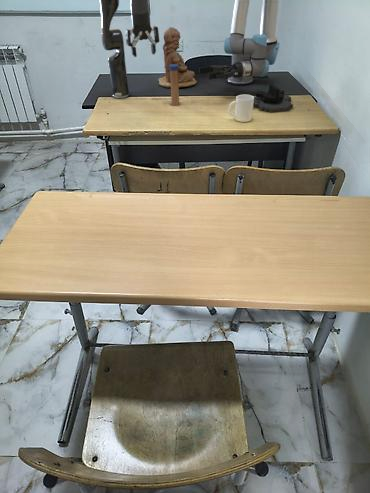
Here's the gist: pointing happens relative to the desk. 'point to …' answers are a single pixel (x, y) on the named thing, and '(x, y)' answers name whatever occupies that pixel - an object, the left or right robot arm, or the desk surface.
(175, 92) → the brown cylindrical tube
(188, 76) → the sculpture
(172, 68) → the lid
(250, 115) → the mug
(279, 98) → the abstract sculpture
